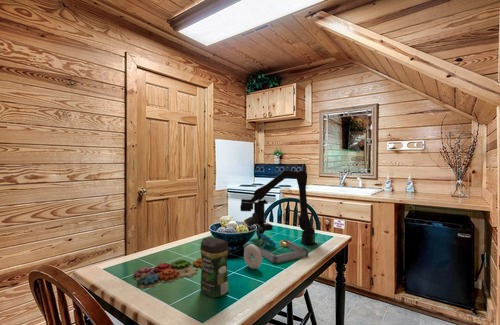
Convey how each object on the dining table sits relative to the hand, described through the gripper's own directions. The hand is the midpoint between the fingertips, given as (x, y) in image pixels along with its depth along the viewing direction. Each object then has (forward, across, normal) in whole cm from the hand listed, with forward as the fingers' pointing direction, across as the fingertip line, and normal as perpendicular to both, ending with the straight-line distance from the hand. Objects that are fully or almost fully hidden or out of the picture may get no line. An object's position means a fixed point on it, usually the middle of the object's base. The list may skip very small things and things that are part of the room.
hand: (259, 239), depth 145 cm
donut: (+1, +29, -20) cm, 35 cm away
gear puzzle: (+2, +18, -49) cm, 52 cm away
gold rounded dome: (+1, +12, +9) cm, 15 cm away
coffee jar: (+1, +40, -41) cm, 58 cm away
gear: (+2, +9, -1) cm, 9 cm away
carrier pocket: (+1, +21, 0) cm, 21 cm away
